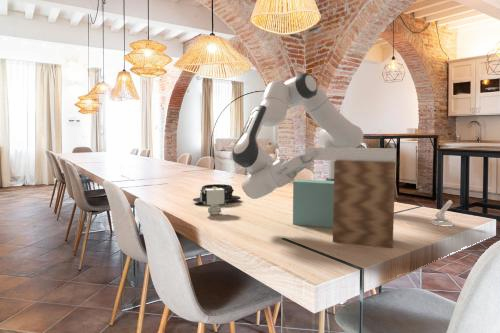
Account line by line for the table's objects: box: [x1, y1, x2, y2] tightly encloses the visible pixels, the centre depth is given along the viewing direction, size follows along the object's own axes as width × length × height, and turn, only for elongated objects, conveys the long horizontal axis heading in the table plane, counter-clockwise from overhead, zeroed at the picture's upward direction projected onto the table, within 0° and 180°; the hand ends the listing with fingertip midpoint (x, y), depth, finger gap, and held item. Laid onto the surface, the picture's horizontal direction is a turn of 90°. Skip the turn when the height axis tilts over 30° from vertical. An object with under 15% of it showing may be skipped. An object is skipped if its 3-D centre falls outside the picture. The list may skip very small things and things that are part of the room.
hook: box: [430, 199, 454, 226], centre depth 141 cm, size 8×12×7 cm
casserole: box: [192, 183, 242, 204], centre depth 189 cm, size 25×19×8 cm
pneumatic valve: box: [199, 187, 229, 216], centre depth 161 cm, size 6×12×12 cm, turn 108°
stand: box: [332, 160, 397, 249], centre depth 120 cm, size 18×10×26 cm, turn 68°
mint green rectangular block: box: [292, 179, 334, 229], centre depth 143 cm, size 17×8×16 cm, turn 69°
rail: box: [305, 146, 397, 163], centre depth 120 cm, size 28×4×4 cm, turn 68°
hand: (318, 152), depth 124 cm, fingers closed on rail, 4 cm apart
